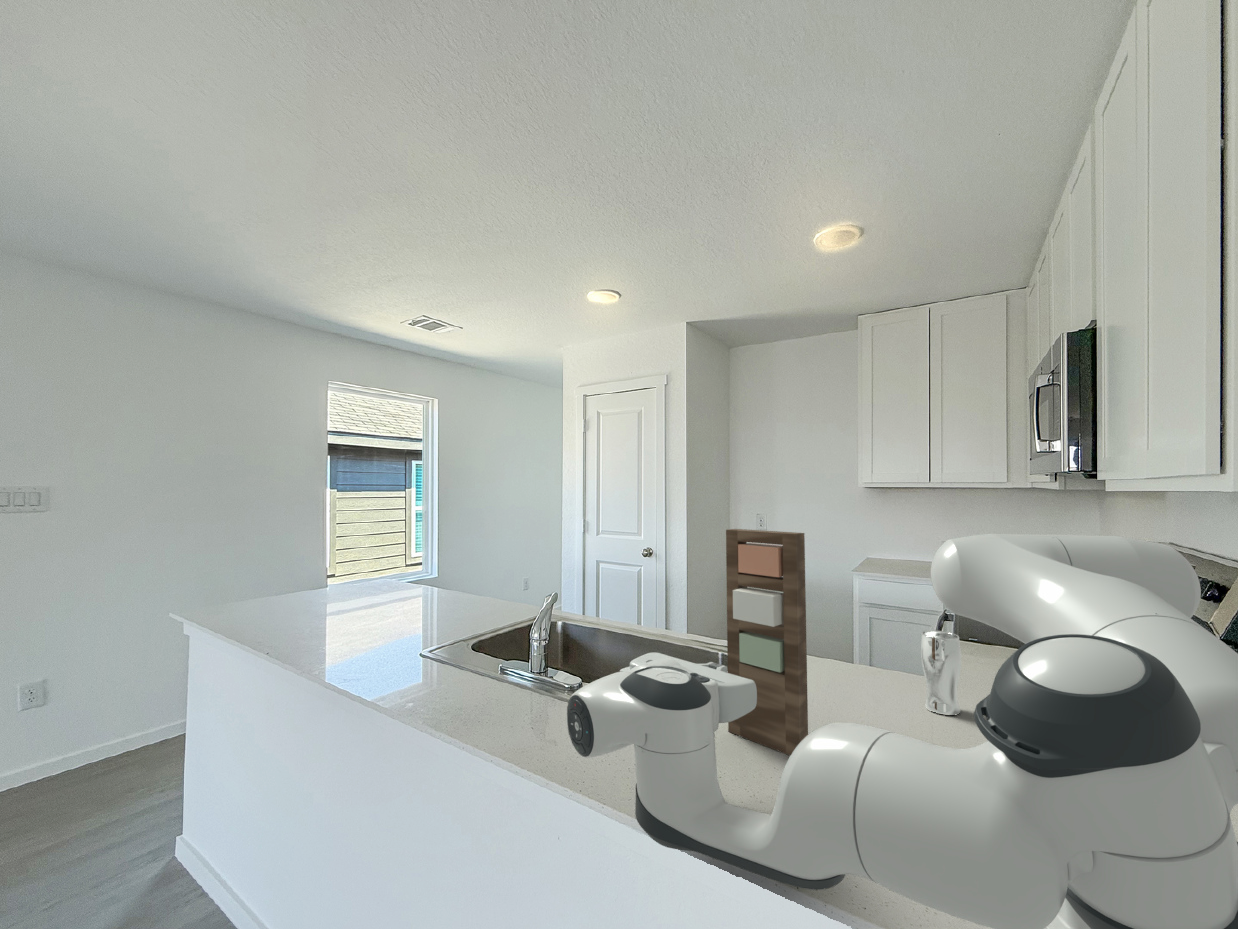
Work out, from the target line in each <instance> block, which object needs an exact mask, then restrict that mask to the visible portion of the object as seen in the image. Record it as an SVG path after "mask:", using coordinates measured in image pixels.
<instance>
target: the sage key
mask: <svg viewBox="0 0 1238 929" xmlns="http://www.w3.org/2000/svg"><path fill="white" fill-rule="evenodd" d="M739 656H740V662H743V663H746V664H750V665H754V666H758V667H761V668H765V669H769V670H772V671H776V672H782V671H785V663H784V639H779V638H775V637H770V636H766V635H761V634H756V633H752V632H747V631H745V632H742V633H739Z"/></svg>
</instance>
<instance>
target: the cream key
mask: <svg viewBox="0 0 1238 929" xmlns="http://www.w3.org/2000/svg"><path fill="white" fill-rule="evenodd" d="M733 619H738V620H743V621H748V622H752V623H757V624H762V625H767V626H772V627H775V626H777V625H780V624H783V623H784V602H783V592H780V591H773V590H766V589H760V588H753V587H747V588H746V587H744V588H740V589H736V590H733Z"/></svg>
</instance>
